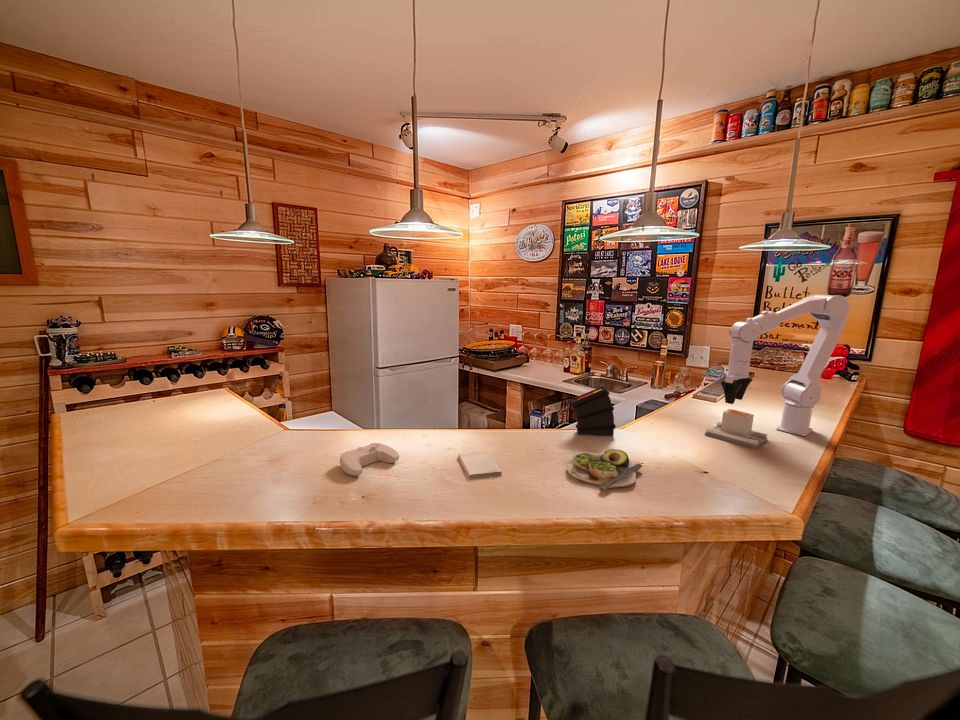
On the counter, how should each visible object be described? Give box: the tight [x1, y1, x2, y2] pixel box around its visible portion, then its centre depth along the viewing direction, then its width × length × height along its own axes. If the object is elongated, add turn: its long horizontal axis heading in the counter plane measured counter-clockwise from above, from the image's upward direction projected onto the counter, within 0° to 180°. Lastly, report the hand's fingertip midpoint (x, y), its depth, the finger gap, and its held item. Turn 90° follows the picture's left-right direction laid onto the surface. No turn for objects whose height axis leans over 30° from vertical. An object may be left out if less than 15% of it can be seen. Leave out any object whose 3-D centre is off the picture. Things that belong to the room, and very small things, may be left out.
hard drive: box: [457, 451, 503, 480], centre depth 108 cm, size 2×8×12 cm
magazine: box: [570, 385, 617, 437], centre depth 131 cm, size 4×13×15 cm, turn 88°
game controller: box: [339, 442, 400, 477], centre depth 107 cm, size 14×4×10 cm
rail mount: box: [704, 421, 769, 450], centre depth 131 cm, size 11×14×2 cm
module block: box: [721, 408, 754, 438], centre depth 130 cm, size 4×7×7 cm, turn 41°
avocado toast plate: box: [566, 448, 643, 490], centre depth 104 cm, size 19×18×5 cm
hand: (733, 401), depth 137 cm, fingers open, 7 cm apart
